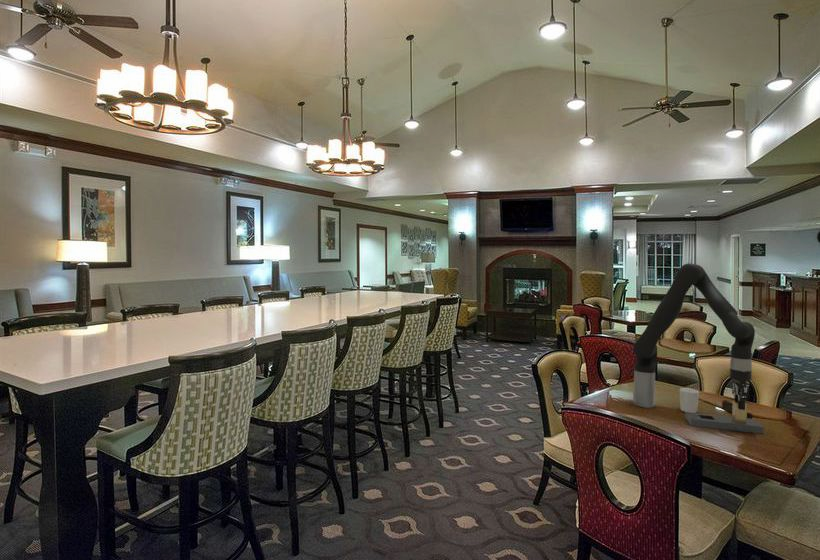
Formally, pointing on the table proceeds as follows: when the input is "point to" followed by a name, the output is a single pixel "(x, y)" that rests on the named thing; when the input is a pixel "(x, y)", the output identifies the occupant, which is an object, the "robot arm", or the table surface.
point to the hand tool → (728, 407)
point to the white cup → (689, 400)
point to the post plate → (723, 422)
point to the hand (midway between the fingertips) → (739, 407)
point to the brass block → (739, 413)
